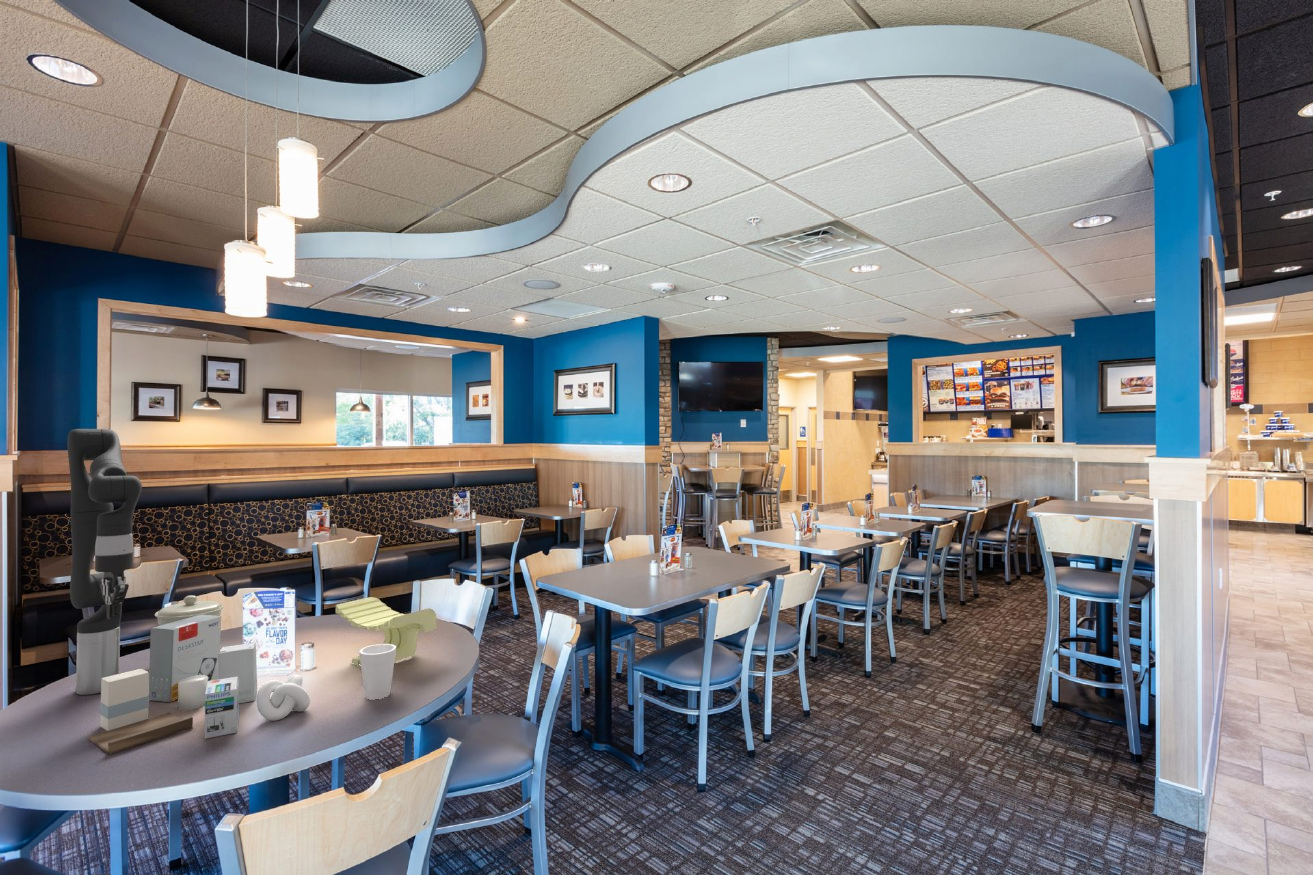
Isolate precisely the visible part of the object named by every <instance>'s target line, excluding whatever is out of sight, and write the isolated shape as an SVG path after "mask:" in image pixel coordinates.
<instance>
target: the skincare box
mask: <svg viewBox="0 0 1313 875" xmlns="http://www.w3.org/2000/svg"><path fill="white" fill-rule="evenodd" d="M256 642H257V641H256ZM256 642H249V643H243V644H237V645H230V646H222V647H221V648H220V652H219V654H218V663H219V679H225V678H232V677H239V701H238V704H242V703H249V702H255V699H256V698H257V694H258V673H257V671H258V669H257V667H258V666H257V645H256V644H257V643H256Z"/></svg>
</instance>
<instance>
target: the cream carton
mask: <svg viewBox="0 0 1313 875" xmlns="http://www.w3.org/2000/svg"><path fill="white" fill-rule="evenodd" d="M148 694H149V672H148V670H145V669H143V668H138V669H134V670H129V671H126V672H121V673H119V674H116V675H112V676H108V677H104V678H101V693H100V712H99V713H100V727H101V728H102V729H104V730H105V731H109V730H112V729H116V728H119V727H122V726H126V725H129V724H133V723H136V722H139V721H143V720H146V719H149V701H150V700H149V696H148Z"/></svg>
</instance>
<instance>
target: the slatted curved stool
mask: <svg viewBox="0 0 1313 875" xmlns="http://www.w3.org/2000/svg"><path fill="white" fill-rule="evenodd" d="M335 614H338V615H340V618H342V619H345V623H346V622H347V623H350V626H351V627H355V628H359V629H363V630H369V631H371V632H381V631H383V633H384V641H383V643H382V644H392V645H395V646H396V656H395V662H396V661H398V660H401V659H403V658H407V657H409V656H412V655H414V656H415V655H416V650H417V643H418V636H419V633H420V631H422V632H423V633H428V632H432V631H435V630H437V614H436V611H435V610H434V609H432V608H429V607H428V608H425V609H421V610H416V611H413V612H410V613H406V614H404V613H400V612H398V611H396V610H393V609H392V608H391V607H389V606H387V604H386V603H384V602H382V601H381V600H380V598H377V597H373V596H370V597H365V598H360V599H357V600H352V601H351V600H350V601H346V602H342V603H338V604H335ZM351 662H352V663H354V664H356V665H355V666H357V665H358V666H360V665H361V663H360V660H359V655H358V656H355V657H352V660H351ZM354 664H353V665H354ZM359 664H360V665H359Z"/></svg>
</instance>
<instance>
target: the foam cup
mask: <svg viewBox="0 0 1313 875" xmlns="http://www.w3.org/2000/svg"><path fill="white" fill-rule="evenodd" d="M358 656H359V660H360V663H361V666H360V668H361V678H362V684H363V691H364V696H365V697H364V698H365V699H366V700H368V699H369V701H376V700H375V699H379V700H382V698H383V699H385V698H384V697H386V698H387V697H389V696H390V694H391V690H392V689H391V688H392V682H393V674H394V666H395V665H394V662H395V656H396V646H395V645H392V644H383V643H379V644H378V643H377V644H371V645H367V646H365V647H362V648H360V650H359V652H358ZM388 695H389V696H388Z"/></svg>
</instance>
